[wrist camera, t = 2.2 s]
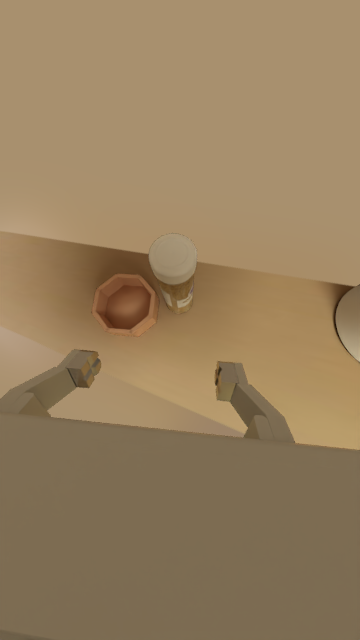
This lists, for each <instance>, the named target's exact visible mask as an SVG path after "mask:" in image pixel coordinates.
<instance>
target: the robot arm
mask: <svg viewBox="0 0 360 640" xmlns="http://www.w3.org/2000/svg"><path fill="white" fill-rule="evenodd" d="M336 326H337V331H338V334H339V336H340V339H341V341H342V342H343V344H344V346H345V347H346V349H347V350H348V351H349V352H350V354H351V355H352V356H353V357H354V358H355V359H357V360H358V361H359V362H360V285H358V286H356V287H354V288H353V289H351V290H350V291H348V292H347V293H346V294H345V295H344V296H343V297H342V299H341V300H340V302H339V304H338V307H337V311H336ZM98 356H99V355H98V352H96V351H87V350H77V349H74V350H72V351H71V352H70V353H69V354H68V356H67V357H66V358H65V359H64V360H63V361H62V362H61V363H60V364H59V365H58V367H54V368H52V369H50V370H48V371H46V372H44V373H42V374H40V375H38V376H36V377H34V378H33V379H30V380H29V381H27V382H25V383H23V384H21V385H19V386H17V387H15V388H13V389H11V390H9V391H8V392H7V393H6V394H5V395H4V396H3V397H2V398H1V399H0V640H360V450H355V449H346V448H336V447H327V446H317V445H308V444H299V443H295V441H294V439H293V437H292V434H291V432H290V430H289V427H288V425H287V423H286V420H285V418H284V417H283V416H282V415H281V414H280V413H279V412H278V411H277V410H276V409H275V408H274V407H273V406H272V405H271V404H270V403H269V402H268V401H267V400H266V399H265V398H264V397H263V396H262V395H261V394H260V393H259V392H258V391H257V390H256V389H255V388H254V387H253V386H252V385H249V384H248V381H247V378H246V375H245V372H244V369H243V365H242V364H241V363H234V362H220V361H218V362H217V369H216V370H215V385H216V386H217V387H216V397H217V400H220V401H228V402H230V403H231V404H232V406H233V407H234V408H235V410H236V411H237V413H238V414H239V416H240V417H241V419H242V420H243V421H244V423H245V424H246V426H247V427H248V429H247V431H246V433H245V435H244V437H243V438H242V437H232V436H222V435H214V434H213V435H212V434H204V433H193V432H185V431H176V430H166V429H157V428H148V427H138V426H128V425H120V424H110V423H100V422H91V421H82V420H71V419H62V418H53V417H51V415H50V414H49V413H48V412H47V410H48V409H50V408H51V407H52V406H54V405H55V404H56V403H58V402H59V401H60V400H61V399H63V398H64V397H65V396H66V395H68V394H69V393H70V392H72V391H73V390H74V389H75V388H76V387H82V388H89V387H90V386H91V384H92V382H93V381H94V376H95V375H97V374H98V373H99V371H100V368H101V361H100V359H98V358H97V357H98Z"/></svg>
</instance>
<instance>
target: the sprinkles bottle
mask: <svg viewBox="0 0 360 640" xmlns="http://www.w3.org/2000/svg"><path fill="white" fill-rule="evenodd" d="M149 263H150V266H151V268H152V271H153V273H154V275H155V276H156V277H157V279H158V283H159V286H160V289H161V291H162V294H163V296H164V299H165V301H166V304H167V307H168V308H169V309H170V310H171V311H172V312H174V313H177V314H180V313H184V312H186V311H188V310H189V309H190V307H191V306H192V302H193V299H192V296H193V284H194V272H195V269H196V264H197V250H196V247H195V245H194V243H193V242H192V241H191V240H190V239H189V238H187V237H186V236H184V235H181V234H176V233H171V234H166V235H163V236H161V237H159V238H158V239H157V240H156V241H155V242H154V243H153V244H152V246H151V248H150V250H149Z"/></svg>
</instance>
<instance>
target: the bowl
mask: <svg viewBox="0 0 360 640" xmlns="http://www.w3.org/2000/svg"><path fill="white" fill-rule="evenodd" d="M158 307H159V299H158V297H157V295H156V292H155V291H154V290H153V289H152V288H151V287H150V286H149V284H148V283H147V282H146V281H145V280H144V279H143V277H142V276H141V275H132V274H115V275H114V276H112V277H111V278H110V279H108V280H107V281H106V282H104V283H103V284H102V285H100V286H99V287H98V288H96V293H95V297H94V302H93V307H92V312H91V313H92V314H93V315H94V317H95V318H96V319H97V321H98V322H99V324H100V325H101V326H102V328H103V329H104V330H105V332H108V333H111V334H114V335H122V336H134V337H139V336H140V335H141V334H143V333H144V332H145V331H146V330H148V329H149V328H150V327H151V326H152V325H154V324H155V323H156V322H157V316H158Z"/></svg>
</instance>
